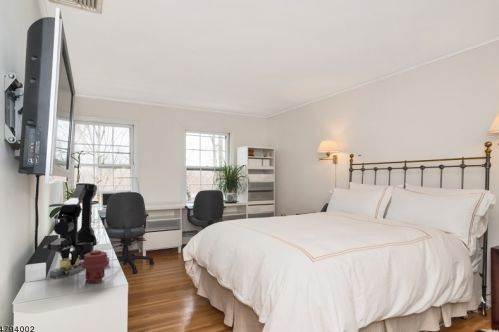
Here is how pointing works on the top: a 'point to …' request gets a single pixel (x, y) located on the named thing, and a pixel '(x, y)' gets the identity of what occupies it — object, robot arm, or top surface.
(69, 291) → the top surface
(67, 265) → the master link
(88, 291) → the top surface
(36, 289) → the top surface
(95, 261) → the mechanical component
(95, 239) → the robot arm
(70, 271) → the studded rectangular link
